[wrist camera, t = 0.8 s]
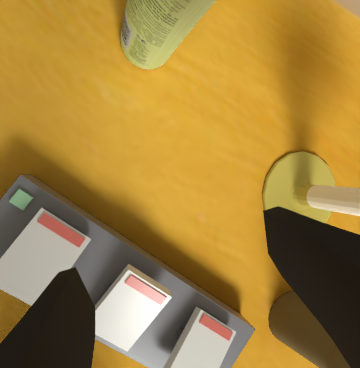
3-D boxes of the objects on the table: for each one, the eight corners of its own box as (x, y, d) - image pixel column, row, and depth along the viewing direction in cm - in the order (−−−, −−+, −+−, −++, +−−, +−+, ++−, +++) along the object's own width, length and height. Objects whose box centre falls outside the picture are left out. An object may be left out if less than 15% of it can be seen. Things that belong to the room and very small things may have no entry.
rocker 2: (127, 342, 24) (127, 353, 23) (84, 319, 23) (81, 328, 22) (170, 290, 24) (172, 298, 23) (128, 263, 23) (128, 270, 22)
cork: (263, 302, 32) (345, 368, 21) (307, 283, 33) (403, 336, 23) (274, 349, 33) (358, 435, 22) (316, 329, 34) (413, 400, 24)
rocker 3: (199, 391, 25) (205, 399, 24) (161, 371, 24) (166, 378, 23) (230, 328, 27) (237, 332, 26) (196, 306, 26) (201, 310, 25)
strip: (199, 378, 30) (213, 406, 27) (-32, 250, 24) (-55, 264, 20) (240, 314, 31) (259, 333, 28) (29, 173, 25) (18, 174, 21)
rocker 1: (41, 306, 21) (40, 311, 20) (-14, 277, 20) (-18, 280, 19) (90, 238, 23) (91, 239, 22) (42, 208, 22) (41, 207, 21)
